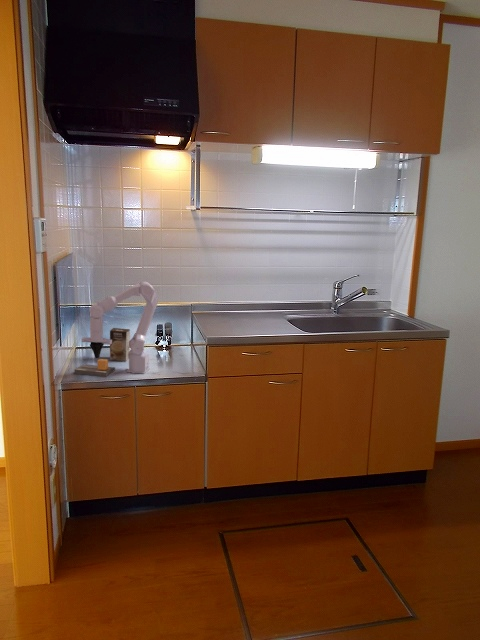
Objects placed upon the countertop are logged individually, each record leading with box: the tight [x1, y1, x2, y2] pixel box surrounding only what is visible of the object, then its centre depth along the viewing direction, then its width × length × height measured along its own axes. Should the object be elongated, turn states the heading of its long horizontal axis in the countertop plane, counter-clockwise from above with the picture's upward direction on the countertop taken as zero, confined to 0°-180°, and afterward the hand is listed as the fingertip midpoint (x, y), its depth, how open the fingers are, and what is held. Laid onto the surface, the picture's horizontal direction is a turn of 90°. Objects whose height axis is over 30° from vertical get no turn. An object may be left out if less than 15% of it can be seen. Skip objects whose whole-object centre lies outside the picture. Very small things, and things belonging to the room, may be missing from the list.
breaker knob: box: [97, 358, 109, 370], centre depth 241 cm, size 4×3×4 cm
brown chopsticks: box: [85, 363, 116, 371], centre depth 249 cm, size 16×2×1 cm, turn 80°
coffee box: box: [109, 327, 131, 362], centre depth 264 cm, size 9×6×16 cm
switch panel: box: [74, 364, 114, 378], centre depth 243 cm, size 16×8×2 cm, turn 80°
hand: (97, 357), depth 241 cm, fingers closed
